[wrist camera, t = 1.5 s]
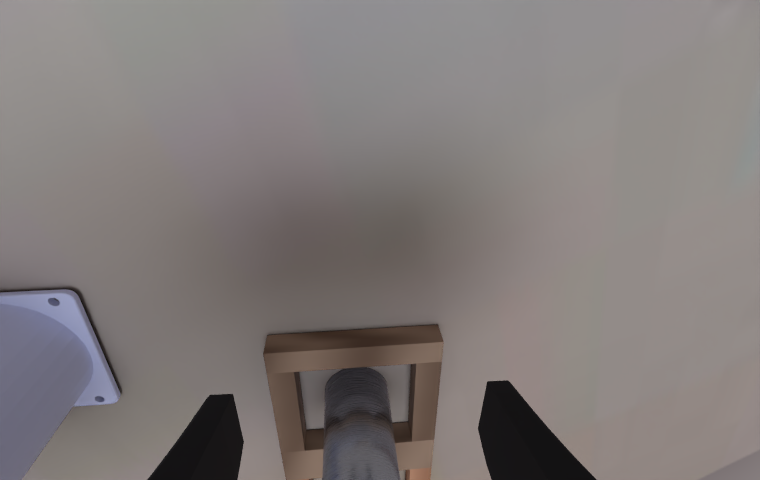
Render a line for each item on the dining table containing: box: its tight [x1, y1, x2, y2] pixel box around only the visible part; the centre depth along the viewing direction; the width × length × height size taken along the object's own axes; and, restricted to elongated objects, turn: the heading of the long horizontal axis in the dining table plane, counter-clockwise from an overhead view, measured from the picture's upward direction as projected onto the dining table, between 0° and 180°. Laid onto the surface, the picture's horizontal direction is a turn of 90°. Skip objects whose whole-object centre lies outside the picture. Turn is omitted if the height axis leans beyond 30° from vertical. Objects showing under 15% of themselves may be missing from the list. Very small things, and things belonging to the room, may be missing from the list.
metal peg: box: [322, 367, 400, 480], centre depth 22 cm, size 4×4×8 cm
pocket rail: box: [263, 325, 444, 480], centre depth 28 cm, size 10×20×2 cm, turn 0°
